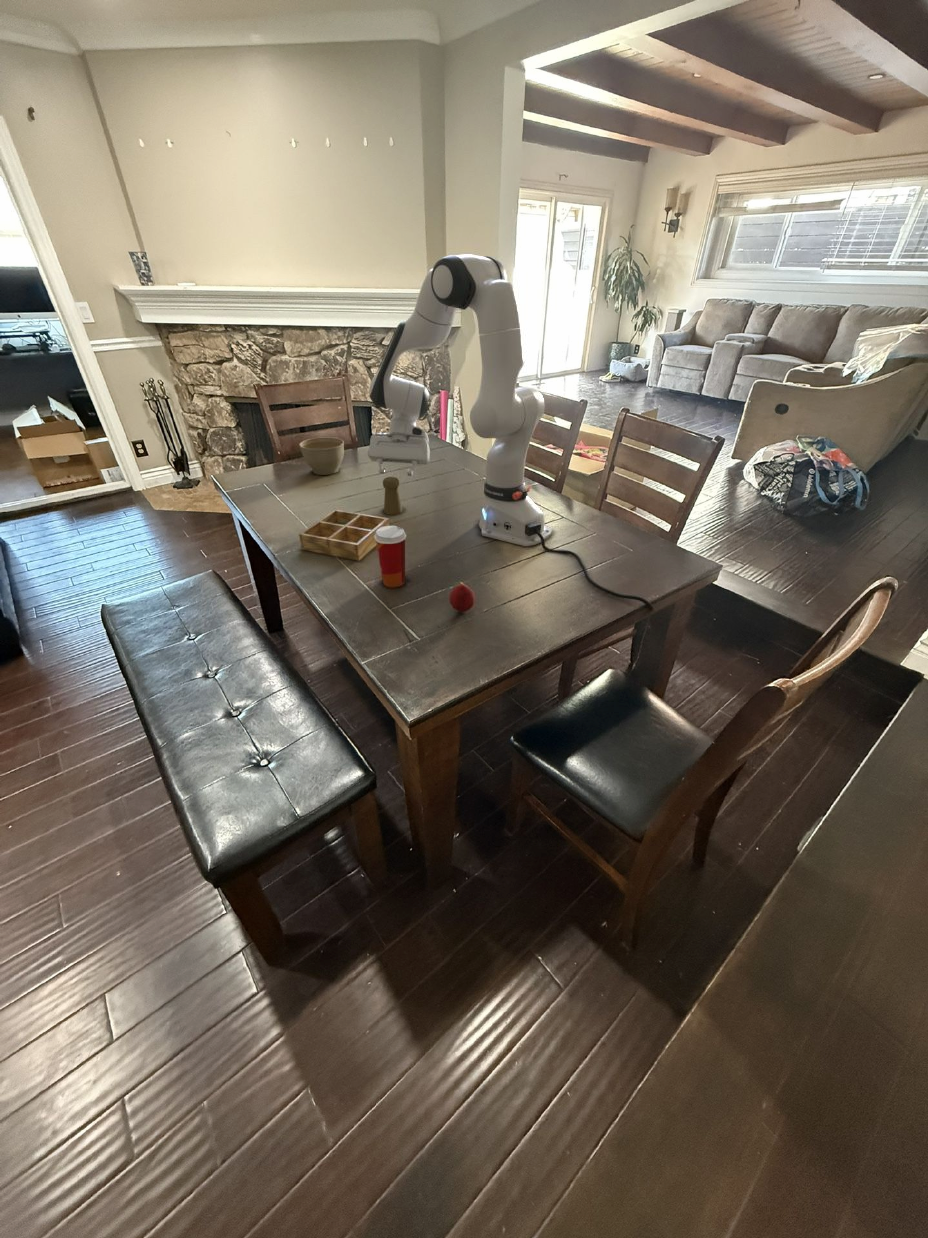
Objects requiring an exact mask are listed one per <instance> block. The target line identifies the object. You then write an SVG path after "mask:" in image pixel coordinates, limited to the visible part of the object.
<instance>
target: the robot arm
mask: <svg viewBox="0 0 928 1238" xmlns="http://www.w3.org/2000/svg"><path fill="white" fill-rule="evenodd" d="M467 308H470V309H471V310H472V311H474V314H475V315H476V319H477V327H478V335H479V336H478V337H479V346H480V356H481V357H480V358H481V378H480V386H479V390H478V394H477V397H476V399H475V402H474V403H473V405H472V406H471V409H470V413H469V422H470V426H471V428H472V430H473V432H474V433H475V434H476V435H477V436H478V437H479V438H482V439H494V441H493V444H492V445H491V447H490V448H489V450H488V452H487V453H486V464H485V465H486V467H485V468H486V469H485V480H484V485H483V494H484V501H483V508H482V513H481V518H480V520H479V523H478V527H479V529H480V530H481V533H480V534H481V536H483V537H486V538H490V539H495V540H499V541H503V542H506V543H511V544H515V545H518V546H523V547H530V546H535V545H538V544H541V547H542V549H543V550H545V551H546V552H549V553H557V554H566V555H570V556H573V557H574V558H575V559H576V560H577V562H578V564H579V566H580V568H581V569H582V571H583V573H584V576H585V578H586V580H587V582H589V583H590V585H592V586H593V587H595V588H596V589H598V590H600V591H602V592H604V593H606V594H609V595H611V596H613V597H616V598H619V599H621V598H622V599H626V600H627V599H628V600H635V601H639V602H641V603H643V604H644V605H645V606H647V608H648V609H649V610H652V611H653V610H654V607H653V605H652V604H651V602H649V601H648V600H647V599H645V598H644V597H641V596H638V595H634V594H633V595H632V594H623V593H619V592H616V591H615V590H614V591H613V590H612V589H609V588H606V587H604V586H602V585H599V584H598V583H596V582H595V580H593V579H592V578H591V576H590V574H589V571H588V569H587V567H586V566H585V564H584V562H583V559H581V557H580V556H579V554H577V553H576V552H574V551H571V550H564V549H551V548H549V547H548V546H546V543H545V542H546V540H547V539H549V537H550V536H551V535H552V528H551V527H549V526H547V525H545V515H544V512H543V511H542V510H541V509H540V507H538V506H537V504H536V503H535V502H534V501H533V499H531V498H530V497H529V494H528V493H529V492H531V489H532V487H531V486H529V487H527V486H526V482H525V480H524V479H525V471H526V470H525V469H526V461H527V455H528V451H529V447H530V443H531V441H532V438H533V435H534V432H535V430H536V427H537V425H538V423H539V422H540V420H542V418H543V416H544V414H545V409H546V404H545V403H546V402H545V399H544V397H543V395H542V393H541V392H540V391H539V390H537V389H536V388H533V387H527V386H519V387H517V384H518V378H519V375H520V372H521V371H522V368H523V367H524V364H525V360H526V359H525V345H524V344H525V343H524V333H523V321H522V315H521V314H522V313H521V309H520V303H519V298H518V294H517V290H516V288H515V286H514V284H512V283H511V282H510V281H508V276H507V272H506V268H505V267H504V265H503V264H502V262H500V260H498V259H496V258H495V257H492V256H487V255H486V256H482V255H475V254H470V253H469V254H468V253H467V254H458V255H456V254H451V255H446V256H444V257H442V258H440V259H439V260H437V261H436V262H435V264H434V265H433V268H431V269H430V270H429V271H427V274H426V275H425V277H424V279H423V282H422V284H421V286H420V289H419V292H418V294H417V299H416V302H415V306H414V308H413V312H412V314H411V315H410V316H409V317H408V319H406V320H405V321H401V322H399V324H398V325H397V327H396V328H395V330H394V331H393V334H392V336H391V338H390V341H389V343H388V344H387V348H386V350H385V353H384V354H383V357H382V359H381V362H380V363H379V366H378V368H377V370H376V373H375V374H374V376H373V378H372V379H371V382H370V383H369V390H368V394H369V399H370V400H371V401H372V403H373V405H374V406H375V407H377V408H382V409H388V410H391V414H392V417H391V419H390V422H389V426H388V427H389V428H388V432H385V433H381V432H375V433H374V434H372V435H371V436H370V439H369V445H368V449H367V456H368V458H369V460H370V461H372V462H377V465H378V473H379V474H382V475H383V474H385V473H386V468H385V466H382V465H384V463H398V464H410V465H411V466H410V468H407V471H406V475H407V476H409V477H413V476H414V472H415V470H416V469H417V468H418V466H419V465H428V464H429V462H430V459H431V458H430V457H431V450H430V446H429V444H430V438H429V436H428V434H427V432H426V430H425V429H422V428H420V427H417V422H418V420H421V418H423V417H425V415H427V412H428V407H429V400H430V392H429V390H428V388H427V387H426V385H423V384H422V383H419V382H416V381H412V380H409V379H405V378H402V377H399V376H396V375H394V374H393V372H394V371H395V368H396V366H397V364H398V361H399V359H400V357H401V356H402V355H403V354H404V353H406V352H409V351H416V350H430V349H433V348H437V347H439V346H441V345H442V344H443V343H445V341H447V339H448V337H449V335H450V332H451V330H452V327H453V324H454V322H455V321H454V320H455V317H456V314H457V311H458V309H459V310H466V309H467Z"/></svg>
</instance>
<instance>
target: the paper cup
mask: <svg viewBox="0 0 928 1238" xmlns="http://www.w3.org/2000/svg"><path fill="white" fill-rule="evenodd" d="M374 539H375V540H376V543H377V545H376V548H377V549H376V550H377V555H378V561H379V568H380V573H381V578H382V583H383V585H384V586H385V587H387V588H398V587H401V586H403V585H404V584H405V582H406V539H407V534H406V532H405V530H404V528H402V527H399V526H397V525H389V526H385V527H381V528H379V529H378V530H377V531H376V534H375V536H374Z"/></svg>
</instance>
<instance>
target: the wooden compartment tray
mask: <svg viewBox="0 0 928 1238" xmlns="http://www.w3.org/2000/svg"><path fill="white" fill-rule="evenodd" d="M385 526H390V518H389V517H382V516H377V515H370V514H366V513H365V514H364V513H359V512H352V511H346V510H340V509H333V510H332V511H330V512H329V513H328V514H326V515H325V516H323V517H322V518H320V519H319V520H317V521H316V522H314V523H313V524H311V525H310V526H309V527H307V528H306V529H303V530H302V531H301V532H300V533H299V534H298V537H299V542H300V546H301V551H302V550H303V551H308V552H311V553H318V554H322V555H327V556H328V555H329V556H333V557H337V558H338V557H339V558H343V559H349V560H355V561H359V562H360V561H361V560H362V559H363V558H364V557H365V556H366V555H367V554H369V553H370V552H371V551H372V550H373V549H375V547H377V543H376V540H375V539H374V536H375V534H376V531H377V530H378V529H379V528H381V527H385Z"/></svg>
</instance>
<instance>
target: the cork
mask: <svg viewBox="0 0 928 1238" xmlns="http://www.w3.org/2000/svg"><path fill="white" fill-rule="evenodd" d="M382 486H383V488H384V500H383V503H384V504H383V513H385V514H387V515H399V514H401V513H403V506H402V501H401V496H400V492H399V487H400V480H399V478H398V477H397V476H396V477H395V476H387V477H384V479H383V480H382Z"/></svg>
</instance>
